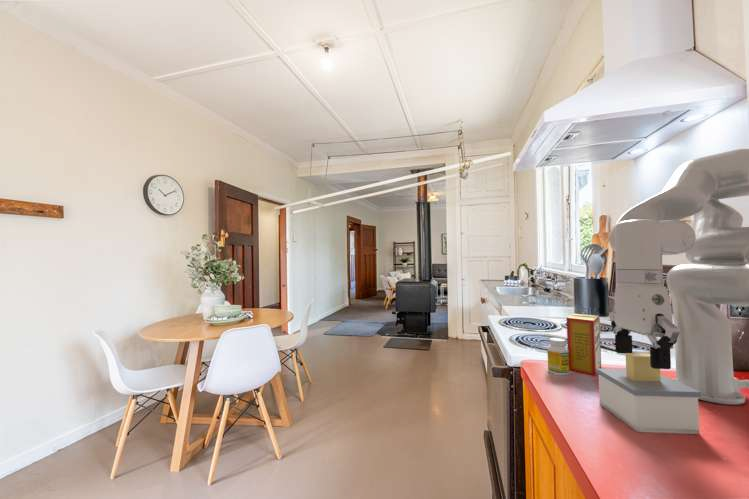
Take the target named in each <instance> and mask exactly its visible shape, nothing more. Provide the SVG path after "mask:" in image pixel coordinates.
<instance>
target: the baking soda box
mask: <svg viewBox="0 0 749 499" xmlns="http://www.w3.org/2000/svg"><path fill="white" fill-rule="evenodd" d="M600 325H601V321H600V315H594V314H584V313H572V314H571V315H568V316H567V317H566V338H567V339H566V341H567V342H566V343H567V348H568V351H569V372H572V371H573V372H572V373H577V374H582V375H586V376H587V375H588V376H592V377H596V376H597V375H598V373H596V368H602V354H601V353H602V350H601V326H600Z"/></svg>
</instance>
